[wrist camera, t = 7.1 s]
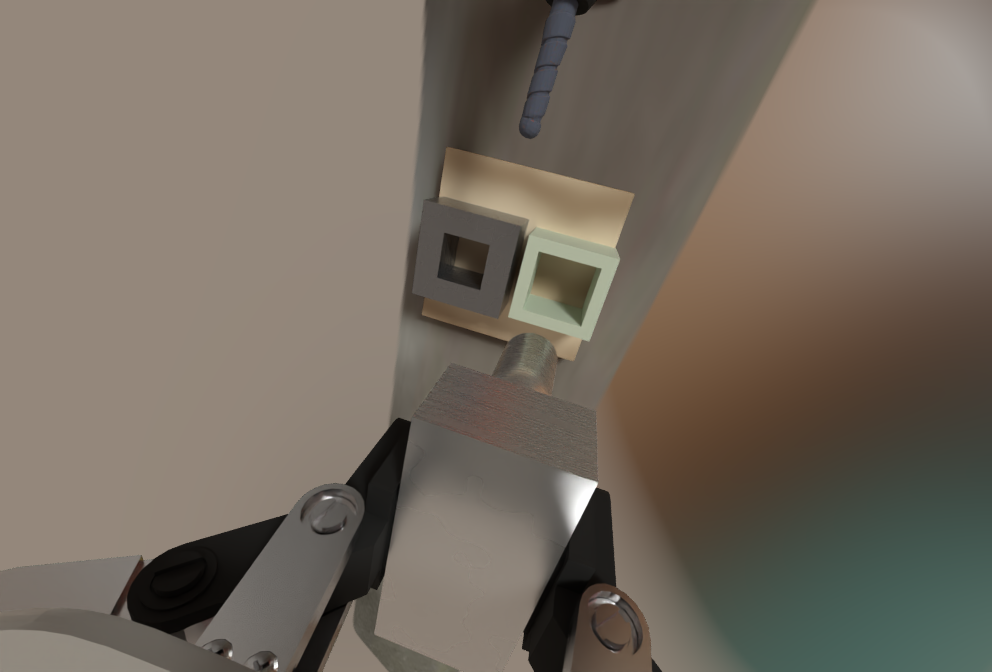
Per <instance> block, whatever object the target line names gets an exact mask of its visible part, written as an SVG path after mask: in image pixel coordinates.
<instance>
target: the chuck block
mask: <svg viewBox="0 0 992 672" xmlns="http://www.w3.org/2000/svg"><path fill="white" fill-rule="evenodd" d="M528 222H529V219H526V218H523V217H519V216H515V215H511V214H508V213H504V212H500V211H496V210H493V209H489V208H485V207H481V206H478V205H474V204H470V203H466V202H463V201H459V200H455V199H452V198H448V197H438V198H432V199H426V200H424V203H423V211H422V219H421V226H420V234H419V242H418V249H417V257H416V265H415V273H414V280H413V288H412V293H413V294H416V295H419V296H423V297H426V298H429V299H433V300H436V301H439V302H443V303H446V304H449V305H453V306H456V307H459V308H463V309H466V310H469V311H473V312H476V313H479V314H483V315H486V316H489V317H493V318H496V319H498V318H499V317H500V315H501V313H502V312H503V310H504V309H505V307H506V305H507V304H508V301H509V297H510V293H511V289H512V285H513V282H514V278H515V274H516V270H517V266H518V262H519V258H520V254H521V250H522V246H523V242H524V238H525V234H526V230H527V226H528ZM459 237H462V238H466V239H469V240H473V241H477V242H480V243H484V244H487V245H490V247H489V251H488V256H487V261H486V265H485V270H484V274H481V273H478V272H474V271H471V270H467V269H464V268H460V267H457V266H454V264H455V258H456V253H457V247H458V241H459Z"/></svg>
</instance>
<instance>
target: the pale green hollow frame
mask: <svg viewBox="0 0 992 672" xmlns="http://www.w3.org/2000/svg"><path fill="white" fill-rule="evenodd" d="M542 252H543V253H546V254H550V255H554V256H557V257H561V258H565V259H568V260H572V261H575V262H579V263H583V264H586V265H590V266H593V267H596V270H595V273H594V276H593V279H592V282H591V285H590V287H589V290H588V293H587V296H586V299H585V302H584V305H583V307H582V309H581V308H578V307H574V306H571V305H567V304H564V303H560V302H557V301H553V300H550V299H546V298H543V297H540V296H536V295H533V294H530V293H531V289H532V286H533V282H534V278H535V275H536V271H537V268H538V264H539V260H540V257H541V253H542ZM619 261H620V258H619V255H618V252H617V250H616V248H613V247H609V246H605V245H602V244H598V243H594V242H591V241H587V240H583V239H579V238H576V237H572V236H568V235H564V234H561V233H557V232H553V231H550V230H546V229H542V228H538V227H536V228H535V229H534V230H533V231H532V233H531V234H530V235H529V238H528V242H527V246H526V250H525V254H524V257H523V261H522V265H521V269H520V273H519V277H518V281H517V285H516V288H515V292H514V296H513V300H512V304H511V308H510V312H509V316H508V317H509V318H513V319H516V320H519V321H523V322H526V323H529V324H533V325H536V326H539V327H543V328H546V329H549V330H553V331H556V332H560V333H563V334H566V335H570V336H573V337H576V338H580V339H583V340H586V341H590V338H591V335H592V333H593V330H594V328H595V325H596V322H597V320H598V317H599V314H600V312H601V309H602V306H603V304H604V301H605V298H606V296H607V293H608V290H609V288H610V285H611V282H612V280H613V277H614V274H615V272H616V269H617V266H618V264H619Z"/></svg>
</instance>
